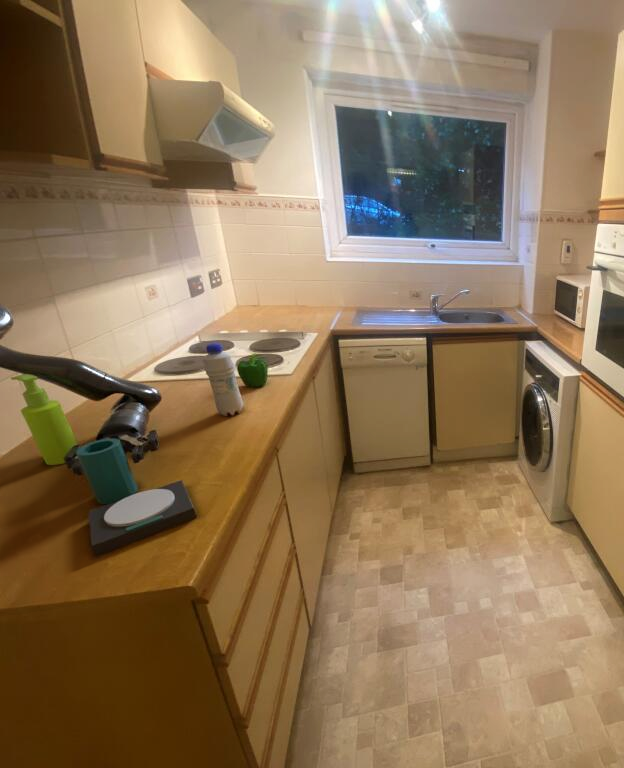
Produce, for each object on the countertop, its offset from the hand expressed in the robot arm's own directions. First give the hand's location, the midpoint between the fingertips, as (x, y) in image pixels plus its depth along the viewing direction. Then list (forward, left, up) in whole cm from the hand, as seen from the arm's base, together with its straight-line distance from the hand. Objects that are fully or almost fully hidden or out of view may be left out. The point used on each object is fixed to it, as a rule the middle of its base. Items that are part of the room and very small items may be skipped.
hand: (107, 465), depth 84 cm
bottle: (+26, +26, -7) cm, 37 cm away
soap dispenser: (-8, +25, -7) cm, 28 cm away
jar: (0, -1, -7) cm, 7 cm away
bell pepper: (+37, +42, -7) cm, 57 cm away
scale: (+3, -14, -7) cm, 15 cm away
